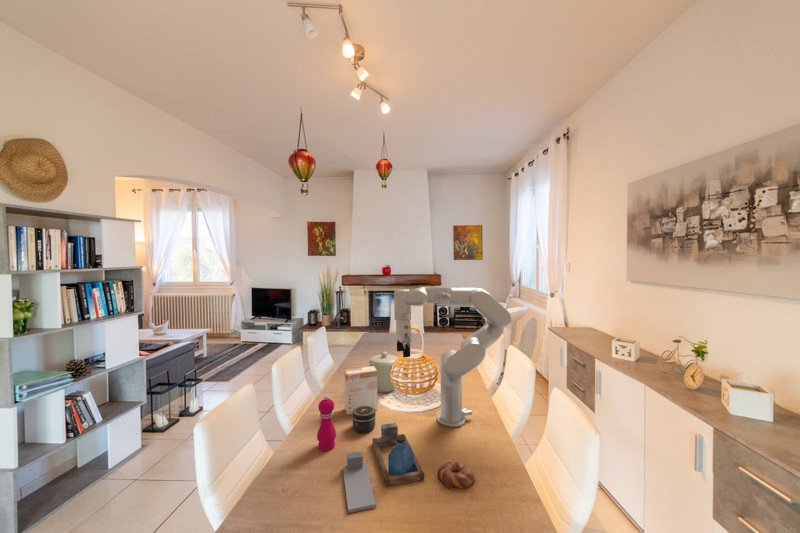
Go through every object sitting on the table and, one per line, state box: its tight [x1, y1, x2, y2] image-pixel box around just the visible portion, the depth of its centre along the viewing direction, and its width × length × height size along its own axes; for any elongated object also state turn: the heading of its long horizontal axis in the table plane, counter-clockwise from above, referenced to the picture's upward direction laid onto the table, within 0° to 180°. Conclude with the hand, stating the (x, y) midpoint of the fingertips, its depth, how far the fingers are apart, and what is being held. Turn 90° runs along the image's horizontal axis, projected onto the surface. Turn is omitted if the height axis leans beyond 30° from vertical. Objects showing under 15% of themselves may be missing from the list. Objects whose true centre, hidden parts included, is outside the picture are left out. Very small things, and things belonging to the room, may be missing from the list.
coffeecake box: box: [344, 366, 378, 416], centre depth 153 cm, size 15×7×20 cm, turn 108°
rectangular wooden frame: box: [372, 422, 425, 487], centre depth 114 cm, size 13×24×7 cm, turn 15°
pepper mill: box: [316, 394, 337, 452], centre depth 122 cm, size 7×7×20 cm
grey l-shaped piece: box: [342, 451, 377, 514], centre depth 101 cm, size 8×20×5 cm, turn 15°
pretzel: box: [437, 461, 476, 489], centre depth 104 cm, size 12×11×4 cm
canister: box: [368, 351, 399, 394], centre depth 177 cm, size 18×18×21 cm
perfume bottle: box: [387, 434, 415, 476], centre depth 108 cm, size 6×6×12 cm
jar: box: [351, 406, 376, 434], centre depth 136 cm, size 10×10×8 cm
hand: (403, 353), depth 143 cm, fingers open, 9 cm apart
